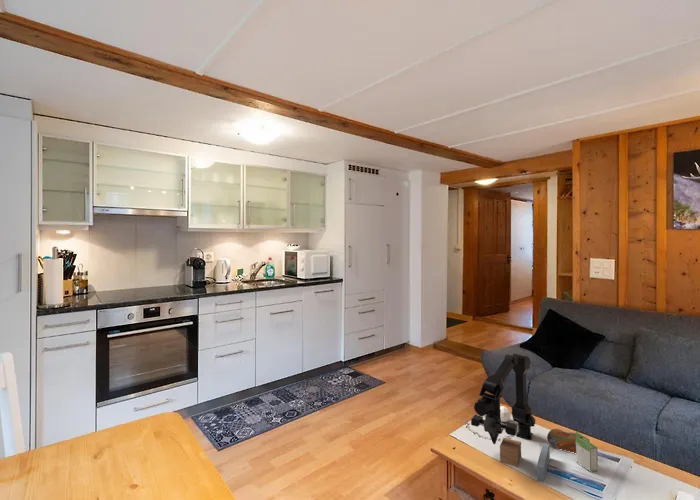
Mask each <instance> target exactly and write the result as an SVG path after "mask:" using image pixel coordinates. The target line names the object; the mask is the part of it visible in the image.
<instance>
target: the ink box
mask: <svg viewBox="0 0 700 500" xmlns="http://www.w3.org/2000/svg"><path fill="white" fill-rule="evenodd" d="M575 433H576V454H575V455H576V463H577V462H578V463H579V464H578V463H577V464H578V465H580V464H581V465H582V466H583V467H582V466H581V465H580V466H581V467H582V468H584V467H585V468H586V469H585V468H584V469H585V470H587V469H588V470H589V471H588V470H587V471H588V472H590V471H592V472H596V471H595V470H598V463H599V462H598V457H599V456H598V455H599V454H598V446H596V445H595V444H593V443H591V439H590V438H589V437H586V436H585V435H583V434H582V433H579V432H578V431H575ZM579 437H583V439H580V438H579Z"/></svg>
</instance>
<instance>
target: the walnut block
mask: <svg viewBox="0 0 700 500" xmlns="http://www.w3.org/2000/svg"><path fill="white" fill-rule="evenodd" d="M521 460H522V442H521V441H519V440H515V439H512V438H511V439H510V438H507V437H503V439H502V440H501V442H500V444H499V461H500V463H504V464H507V465H510V466H514V467H517V468H518V467H519V465H520V462H521Z"/></svg>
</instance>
